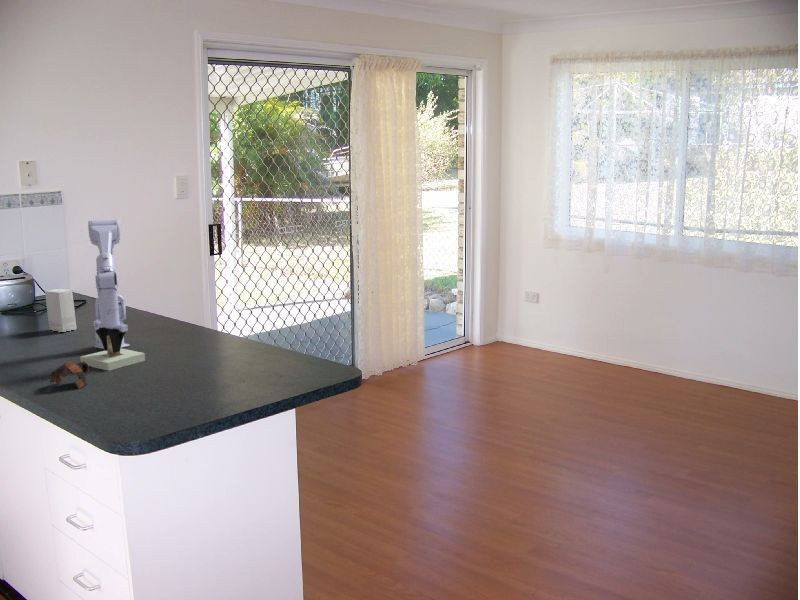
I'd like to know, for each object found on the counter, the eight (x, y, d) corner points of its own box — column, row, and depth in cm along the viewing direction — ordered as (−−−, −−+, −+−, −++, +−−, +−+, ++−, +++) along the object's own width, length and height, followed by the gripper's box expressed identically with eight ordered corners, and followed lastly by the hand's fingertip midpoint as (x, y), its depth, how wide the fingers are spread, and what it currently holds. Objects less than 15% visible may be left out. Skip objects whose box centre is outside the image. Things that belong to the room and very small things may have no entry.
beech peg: (105, 360, 266) (103, 336, 265) (115, 358, 270) (114, 334, 268) (113, 362, 264) (111, 337, 263) (123, 360, 268) (122, 335, 266)
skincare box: (77, 330, 313) (73, 289, 310) (61, 333, 308) (58, 292, 305) (63, 327, 317) (59, 287, 315) (47, 331, 312) (44, 290, 309)
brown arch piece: (74, 393, 236) (57, 370, 234) (56, 403, 241) (39, 380, 239) (102, 372, 246) (86, 349, 244) (84, 382, 251) (68, 360, 249)
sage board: (80, 364, 265) (80, 356, 264) (117, 354, 276) (116, 347, 276) (108, 370, 257) (108, 362, 257) (145, 360, 269) (144, 353, 268)
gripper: (84, 309, 264) (87, 350, 267) (113, 314, 256) (116, 356, 259) (102, 305, 270) (106, 346, 273) (131, 310, 262) (134, 351, 265)
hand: (112, 351), depth 266 cm, fingers closed on beech peg, 4 cm apart
